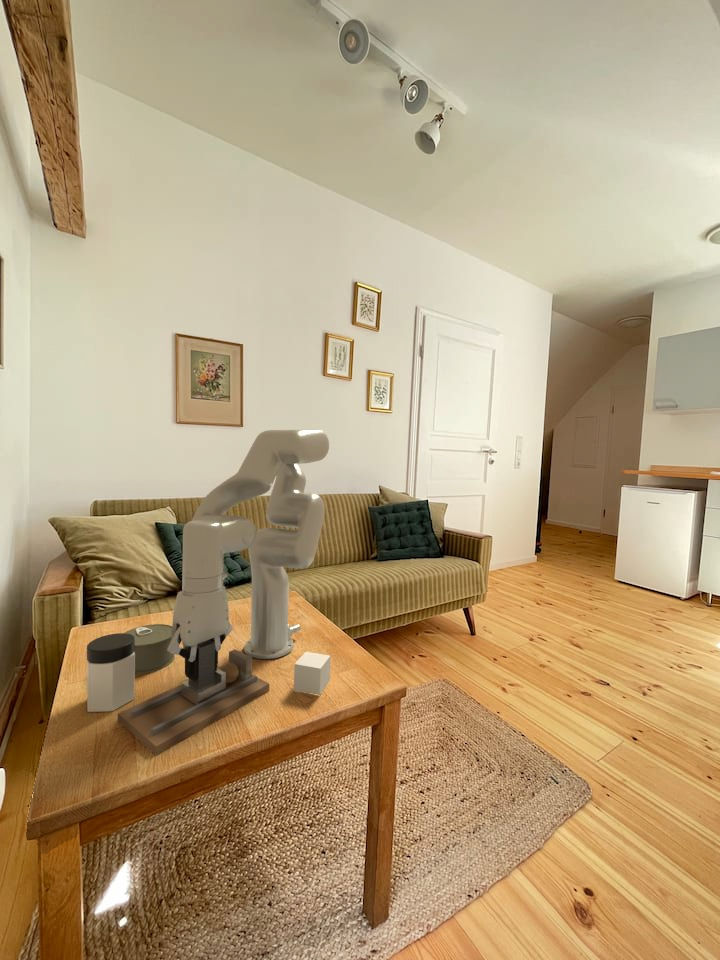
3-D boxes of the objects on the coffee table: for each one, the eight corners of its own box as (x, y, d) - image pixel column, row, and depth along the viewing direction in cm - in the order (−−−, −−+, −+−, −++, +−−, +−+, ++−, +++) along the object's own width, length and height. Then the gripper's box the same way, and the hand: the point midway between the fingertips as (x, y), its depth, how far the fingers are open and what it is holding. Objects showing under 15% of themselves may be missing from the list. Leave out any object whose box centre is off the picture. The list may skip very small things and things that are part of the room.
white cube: (319, 696, 82) (320, 668, 82) (293, 691, 84) (294, 664, 83) (329, 681, 88) (330, 655, 88) (305, 677, 89) (305, 651, 89)
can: (129, 681, 86) (130, 650, 86) (110, 662, 94) (111, 634, 93) (184, 661, 95) (184, 633, 95) (162, 646, 103) (163, 620, 103)
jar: (143, 688, 83) (144, 632, 83) (124, 711, 75) (124, 650, 75) (98, 689, 82) (99, 633, 82) (74, 713, 74) (74, 651, 74)
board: (229, 669, 92) (229, 641, 92) (269, 690, 84) (269, 660, 83) (117, 721, 72) (118, 686, 72) (155, 755, 64) (156, 716, 64)
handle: (208, 682, 83) (209, 633, 83) (225, 692, 79) (226, 641, 79) (181, 694, 78) (181, 643, 78) (198, 706, 75) (199, 652, 74)
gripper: (227, 571, 87) (226, 653, 87) (151, 588, 73) (149, 685, 74) (249, 577, 82) (247, 663, 83) (172, 597, 69) (170, 700, 69)
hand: (201, 672), depth 78 cm, fingers closed on handle, 3 cm apart
